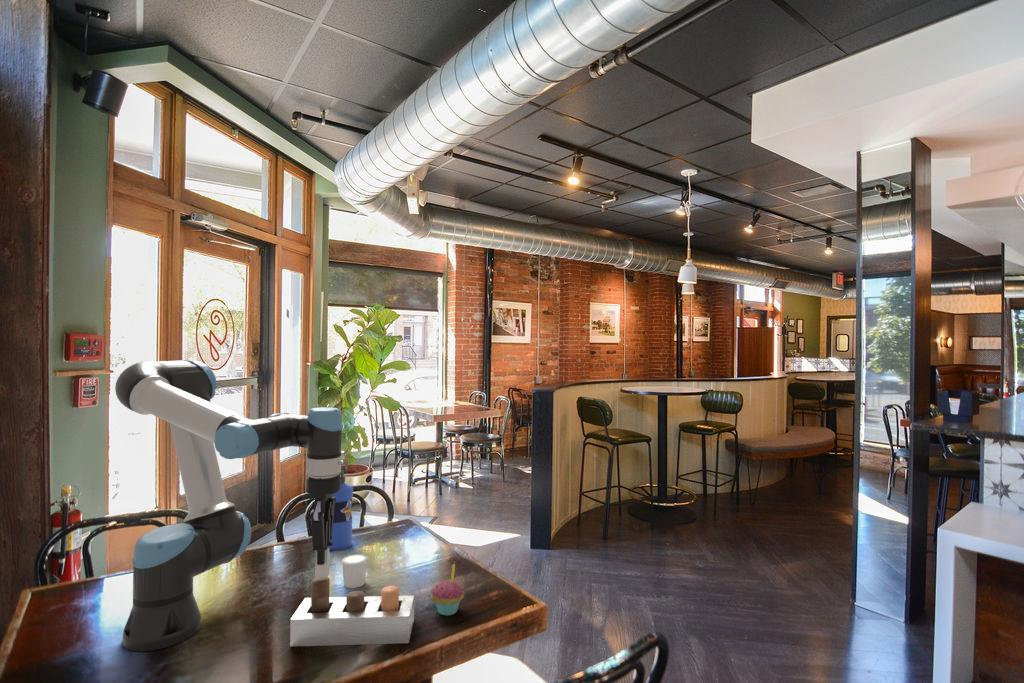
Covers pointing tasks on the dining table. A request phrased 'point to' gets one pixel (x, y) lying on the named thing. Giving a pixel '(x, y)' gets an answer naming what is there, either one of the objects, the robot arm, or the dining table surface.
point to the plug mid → (355, 601)
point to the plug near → (320, 595)
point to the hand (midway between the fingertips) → (322, 576)
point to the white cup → (354, 570)
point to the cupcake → (448, 595)
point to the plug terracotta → (390, 598)
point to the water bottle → (342, 517)
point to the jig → (352, 623)
